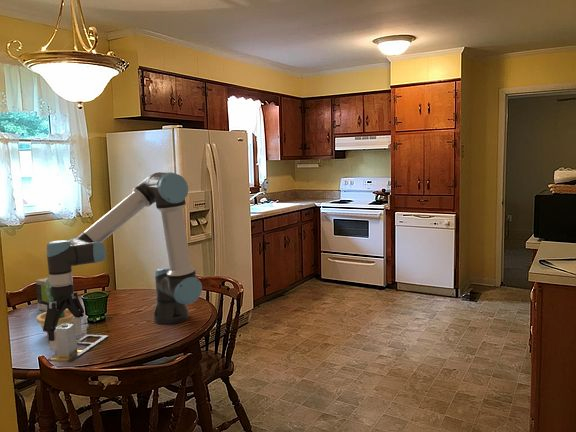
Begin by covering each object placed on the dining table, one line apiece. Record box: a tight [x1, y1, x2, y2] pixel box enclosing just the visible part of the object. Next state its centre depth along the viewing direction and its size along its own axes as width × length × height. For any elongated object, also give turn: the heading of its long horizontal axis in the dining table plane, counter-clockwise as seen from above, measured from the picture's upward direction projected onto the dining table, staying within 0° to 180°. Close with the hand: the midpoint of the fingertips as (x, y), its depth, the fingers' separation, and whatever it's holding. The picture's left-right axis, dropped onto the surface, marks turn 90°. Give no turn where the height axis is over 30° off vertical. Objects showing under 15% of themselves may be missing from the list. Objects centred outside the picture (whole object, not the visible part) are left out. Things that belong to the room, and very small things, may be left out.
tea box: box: [35, 277, 74, 312], centre depth 231 cm, size 15×10×15 cm
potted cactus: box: [35, 276, 74, 337], centre depth 198 cm, size 15×15×25 cm
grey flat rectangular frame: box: [47, 334, 109, 363], centre depth 184 cm, size 10×24×1 cm, turn 170°
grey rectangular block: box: [55, 324, 78, 359], centre depth 176 cm, size 5×5×11 cm
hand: (66, 341), depth 176 cm, fingers open, 13 cm apart
